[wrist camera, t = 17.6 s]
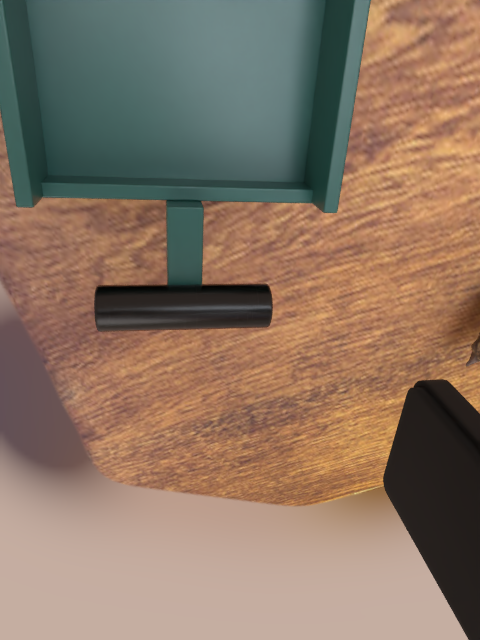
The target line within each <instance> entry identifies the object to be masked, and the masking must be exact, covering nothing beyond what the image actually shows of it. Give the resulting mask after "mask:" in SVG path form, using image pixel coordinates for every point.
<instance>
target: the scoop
mask: <svg viewBox="0 0 480 640" xmlns="http://www.w3.org/2000/svg"><path fill="white" fill-rule="evenodd" d="M370 1H371V0H0V111H1V117H2V123H3V129H4V135H5V141H6V147H7V153H8V159H9V165H10V171H11V177H12V183H13V189H14V195H15V201H16V206H17V207H29V208H32V207H34V206H35V205H36V204H37V203H38V202H39V201H40V200H41V199H42V197H43V198H89V199H135V200H166V232H167V285H98V286H97V287H96V290H95V300H94V309H95V322H96V327H97V330H98V331H100V332H111V331H150V330H188V329H226V328H265V327H268V326H269V325H270V323H271V319H272V309H273V304H272V294H271V290H270V287H269V285H268V284H202V263H203V220H204V208H203V205H202V203H201V201H227V202H273V203H312V204H314V205H315V206H316V207H317V208H319V209H320V210H321V211H322V212H324V213H337V210H338V204H339V198H340V191H341V185H342V179H343V172H344V166H345V160H346V153H347V147H348V141H349V134H350V128H351V122H352V115H353V109H354V103H355V96H356V90H357V84H358V77H359V71H360V65H361V58H362V52H363V46H364V39H365V33H366V27H367V20H368V14H369V8H370Z"/></svg>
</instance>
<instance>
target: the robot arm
mask: <svg viewBox="0 0 480 640" xmlns="http://www.w3.org/2000/svg"><path fill="white" fill-rule="evenodd" d="M383 482H384V487H385V491H386V493H387V495H388V497H389V498H390V500H391V502H392V504H393V506H394V507H395V509H396V511H397V512H398V514H399V516H400V518H401V520H402V521H403V523H404V525H405V527H406V529H407V530H408V532H409V534H410V536H411V538H412V539H413V541H414V543H415V545H416V547H417V548H418V550H419V552H420V554H421V555H422V557H423V559H424V561H425V563H426V564H427V566H428V568H429V570H430V571H431V573H432V575H433V577H434V579H435V580H436V582H437V584H438V586H439V588H440V589H441V591H442V593H443V594H444V596H445V598H446V600H447V602H448V604H449V605H450V607H451V609H452V611H453V612H454V614H455V616H456V618H457V620H458V621H459V623H460V625H461V627H462V629H463V630H464V632H465V634H466V636H467V637H468V639H469V640H480V414H479V413H478V411H477V410H476V409H475V408H474V407H473V406H472V405H471V404H470V403H469V402H468V401H467V400H466V399H465V398H464V397H463V396H462V395H461V394H460V393H459V392H458V391H457V390H456V389H455V388H454V387H453V386H452V384H451V383H449V382H448V381H447V380H443V379H441V380H423V381H418V382H417V383H416V384H415V386H414V388H410V389H409V390H408V393H407V396H406V399H405V403H404V406H403V410H402V413H401V417H400V420H399V424H398V427H397V431H396V434H395V438H394V441H393V445H392V448H391V452H390V455H389V459H388V462H387V466H386V469H385V473H384V477H383Z"/></svg>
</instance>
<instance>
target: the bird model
mask: <svg viewBox="0 0 480 640" xmlns="http://www.w3.org/2000/svg"><path fill="white" fill-rule="evenodd" d="M471 346H472V351H473V352H472V354H471V357H470V359H469V361H468V362H467V363H466V367H467V366H469V365H471V364H473V363H476V362H479V361H480V333H479V337H478V339H477V340H476V341H475V342H474V343H473V344H472V345H471Z"/></svg>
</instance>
